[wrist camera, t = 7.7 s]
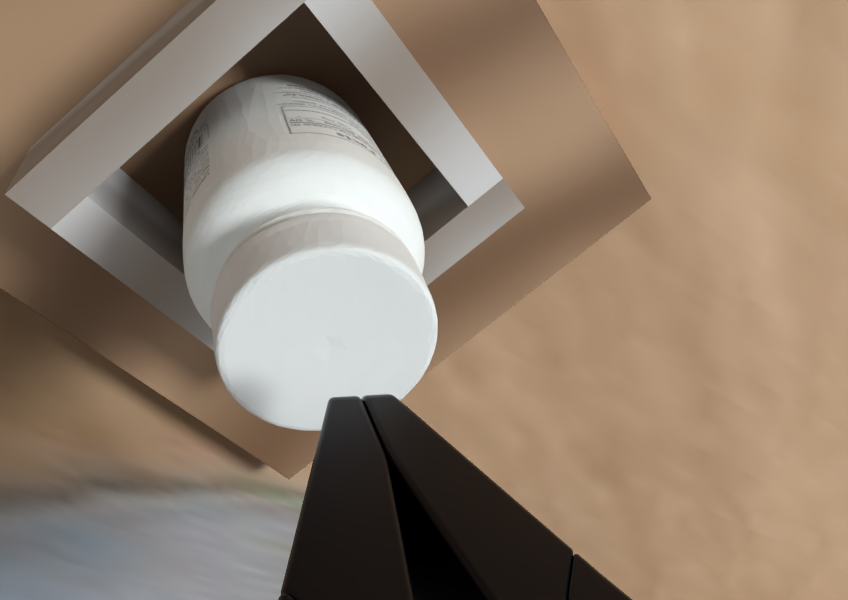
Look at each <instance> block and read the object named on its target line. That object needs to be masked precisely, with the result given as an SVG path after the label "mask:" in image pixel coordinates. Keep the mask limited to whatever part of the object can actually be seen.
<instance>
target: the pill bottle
mask: <svg viewBox="0 0 848 600" xmlns="http://www.w3.org/2000/svg"><path fill="white" fill-rule="evenodd" d="M424 258H425V245H424V237H423V231H422V227H421V224H420V221H419V218H418V215H417V213H416V210H415V208H414V206H413V204H412V203H411V201H410V199H409V197H408V195H407V193H406V192H405V190H404V188H403V187H402V185H401V184H400V182H399V180H398V179H397V178H396V176H395V174H394V173H393V171H392V169H391V167H390V166H389V164H388V163H387V161H386V159H385V158H384V156H383V155H382V153H381V152H380V150H379V148H378V147H377V145H376V144H375V142H374V140H373V139H372V137H371V135H370V134H369V132H368V130H367V129H366V127H365V126H364V124H363V123H362V121H361V120H360V119H359V117H358V116H357V114H356V113H355V112H354V110H353V109H352V108H351V107H350V106H349V105H348V104H347V103H346V102H345V101H344V100H343V99H342V98H341V97H339V96H338V95H337V94H335V93H334V92H333V91H331V90H330V89H328V88H326V87H325V86H323V85H321V84H319V83H316V82H314V81H311V80H308V79H305V78H301V77H297V76H292V75H284V74H278V75H266V76H259V77H255V78H251V79H248V80H245V81H242V82H240V83H237V84H236V85H234V86H232V87H230V88H228V89H226V90H225V91H223V92H222V93H220V94H219V95H217V96H216V97H215V98H214V99H213V100H212V101H211V102H210V103H209V104H208V105H207V106H206V107H205V108H204V109H203V111H202V112H201V114H200V115H199V117H198V118H197V120H196V122H195V124H194V125H193V127H192V130H191V132H190V135H189V138H188V141H187V145H186V151H185V160H184V214H183V264H184V275H185V279H186V283H187V287H188V290H189V294H190V296H191V299H192V301H193V303H194V305H195V307H196V309H197V310H198V312H199V313H200V315H201V317H202V318H203V319H204V321H205V322H206V323H207V324H208V326H209V327H210V328H211V329H212V334H213V346H214V355H215V360H216V364H217V368H218V371H219V374H220V376H221V379H222V381H223V383H224V385H225V387H226V389H227V390H228V391H229V392H230V394H231V395H232V396H233V398H234V399H235V400H236V401H237V402H238V403H239V404H240V405H241V406H242V407H244V408H245V409H246V410H247V411H249V412H250V413H252V414H253V415H255V416H257V417H259V418H260V419H262V420H264V421H266V422H269V423H271V424H274V425H276V426H280V427H285V428H289V429H296V430H303V431H321V428H322V424H323V420H324V416H325V412H326V408H327V404H328V401H329V399H330V398H332V397H343V396H358V397H359V398H362V397H364V396H366V395H379V394H391V395H393V396H395V397H396V398H397V399H399V400H401V399H402V398H403V397H404V396H405V395H406V394H407V393H408V392H409V391H410V390H411V389H412V388H413V387H414V386H415V385H416V384H417V383H418V382H419V380H420V379H421V377H422V376H423V374H424V373H425V371H426V369H427V367H428V366H429V363H430V361H431V359H432V356H433V354H434V350H435V346H436V342H437V331H438V319H437V314H436V309H435V305H434V302H433V299H432V296H431V294H430V291H429V289H428V287H427V285H426V282H425V280H424V278H423V276H422V273H423V268H424Z"/></svg>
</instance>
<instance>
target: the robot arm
mask: <svg viewBox="0 0 848 600" xmlns="http://www.w3.org/2000/svg"><path fill="white" fill-rule="evenodd" d="M279 600H632V599H631V598H630V597H628V596H627V595H626V594H625V593H624V592H622V591H621V590H620V589H619V588H617V587H616V586H615V585H614V584H613V583H611V582H610V581H609V580H608V579H607V578H605V577H604V576H603V575H602V574H600V573H599V572H598V571H597V570H596V569H595V568H593V567H592V566H591V565H590V564H589V563H588V562H587V561H585V560H584V559H583V558H582V557H581V556H580V555H578V554H575V555H573V550H572V549H571V548H570V547H569V546H568V545H567V544H565V543H564V542H563V541H562V540H561V539H560V538H558V537H557V536H556V535H555V534H554V533H553V532H551V531H550V530H549V529H548V528H547V527H546V526H545V525H543V524H542V523H541V522H540V521H539V520H538V519H536V518H535V517H534V516H533V515H532V514H531V513H529V512H528V511H527V510H526V509H525V508H524V507H523V506H521V505H520V504H519V503H518V502H517V501H516V500H514V499H513V498H512V497H511V496H510V495H509V494H507V493H506V492H505V491H504V490H503V489H502V488H501V487H499V486H498V485H497V484H496V483H495V482H494V481H492V480H491V479H490V478H489V477H488V476H487V475H485V474H484V473H483V472H482V471H481V470H480V469H479V468H477V467H476V466H475V465H474V464H473V463H472V462H470V461H469V460H468V459H467V458H466V457H465V456H463V455H462V454H461V453H460V452H459V451H458V450H456V449H455V448H454V447H453V446H452V445H451V444H450V443H448V442H447V441H446V440H445V439H444V438H443V437H441V436H440V435H439V434H438V433H437V432H436V431H434V430H433V429H432V428H431V427H430V426H429V425H428V424H426V423H425V422H424V421H423V420H422V419H421V418H419V417H418V416H417V415H416V414H415V413H414V412H412V411H411V410H410V409H409V408H408V407H407V406H406V405H404V404H403V403H402V402H401V401H400V400H399V399H397V398H396V397H395V396H393V395H391V394H379V395H366V396H364V397H362V398H359V397H358V396H343V397H332V398H330V399H329V401H328V404H327V408H326V412H325V416H324V420H323V424H322V428H321V432H320V436H319V440H318V444H317V448H316V452H315V456H314V460H313V464H312V468H311V472H310V476H309V480H308V484H307V488H306V492H305V497H304V501H303V505H302V509H301V513H300V517H299V521H298V525H297V529H296V533H295V537H294V541H293V545H292V549H291V553H290V557H289V561H288V565H287V569H286V573H285V577H284V581H283V585H282V589H281V596H280V597H279Z"/></svg>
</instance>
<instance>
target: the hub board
mask: <svg viewBox="0 0 848 600" xmlns="http://www.w3.org/2000/svg"><path fill="white" fill-rule="evenodd" d="M278 74H284V75H292V76H297V77H301V78H305V79H308V80H311V81H314V82H316V83H319V84H321V85H323V86H325V87H326V88H328V89H330V90H331V91H333V92H334V93H335V94H337V95H338V96H339V97H341V98H342V99H343V100H344V101H345V102H346V103H347V104H348V105H349V106H350V107H351V108H352V109H353V110H354V112H355V113H356V114H357V116H358V117H359V119H360V120H361V121H362V123H363V124H364V126H365V127H366V129H367V130H368V132H369V134H370V135H371V137H372V139H373V140H374V142H375V144H376V145H377V147H378V148H379V150H380V152H381V153H382V155H383V156H384V158H385V159H386V161H387V163H388V164H389V166H390V167H391V169H392V171H393V173H394V174H395V176H396V178H397V179H398V180H399V182H400V184H401V185H402V187H403V188H404V190H405V192H406V193H407V195H408V197H409V199H410V201H411V203H412V204H413V206H414V208H415V210H416V213H417V215H418V218H419V221H420V224H421V227H422V231H423V237H424V245H425V258H424V268H423V273H422V276H423V278H424V280H425V282H426V285H427V287H428V289H429V291H430V294H431V296H432V299H433V302H434V305H435V309H436V314H437V319H438V331H437V342H436V346H435V350H434V354H433V356H432V359H431V361H430V363H429V366H428V367H427V369H426V371H425V373H424V374H426V373H427V372H428V371H429V370H431V369H432V368H433V367H435V366H436V365H437V364H439V363H440V362H441V361H442V360H444V359H445V358H446V357H448V356H449V355H450V354H451V353H453V352H454V351H455V350H457V349H458V348H459V347H460V346H462V345H463V344H464V343H466V342H467V341H468V340H470V339H471V338H472V337H473V336H475V335H476V334H477V333H479V332H480V331H481V330H482V329H484V328H485V327H486V326H488V325H489V324H490V323H492V322H493V321H494V320H495V319H497V318H498V317H499V316H501V315H502V314H503V313H504V312H506V311H507V310H508V309H510V308H511V307H512V306H513V305H515V304H516V303H517V302H519V301H520V300H521V299H523V298H524V297H525V296H526V295H528V294H529V293H530V292H532V291H533V290H534V289H535V288H537V287H538V286H539V285H541V284H542V283H543V282H545V281H546V280H547V279H548V278H550V277H551V276H552V275H554V274H555V273H556V272H557V271H559V270H560V269H561V268H563V267H564V266H565V265H566V264H568V263H569V262H570V261H572V260H573V259H574V258H576V257H577V256H578V255H579V254H581V253H582V252H583V251H585V250H586V249H587V248H588V247H590V246H591V245H592V244H594V243H595V242H596V241H598V240H599V239H600V238H601V237H603V236H604V235H605V234H607V233H608V232H609V231H610V230H612V229H613V228H614V227H616V226H617V225H618V224H619V223H621V222H622V221H623V220H625V219H626V218H627V217H629V216H630V215H631V214H632V213H634V212H635V211H636V210H638V209H639V208H640V207H641V206H643V205H644V204H645V203H647V202H648V201H649V200H651V198H650V196H649V194H648V192H647V191H646V189H645V187H644V185H643V184H642V182H641V180H640V179H639V177H638V175H637V173H636V172H635V170H634V168H633V167H632V165H631V163H630V161H629V160H628V158H627V156H626V154H625V153H624V151H623V149H622V148H621V146H620V144H619V142H618V141H617V139H616V137H615V136H614V134H613V132H612V130H611V129H610V127H609V125H608V123H607V122H606V120H605V118H604V117H603V115H602V113H601V111H600V110H599V108H598V106H597V105H596V103H595V101H594V99H593V98H592V96H591V94H590V92H589V91H588V89H587V87H586V86H585V84H584V82H583V80H582V79H581V77H580V75H579V74H578V72H577V70H576V68H575V67H574V65H573V63H572V61H571V60H570V58H569V56H568V55H567V53H566V51H565V49H564V48H563V46H562V44H561V43H560V41H559V39H558V37H557V36H556V34H555V32H554V30H553V29H552V27H551V25H550V24H549V22H548V20H547V18H546V17H545V15H544V13H543V12H542V10H541V8H540V6H539V5H538V3H537V1H536V0H0V288H1V289H2V290H4V291H5V292H7V293H8V294H10V295H12V296H13V297H15V298H16V299H18V300H19V301H21V302H22V303H24V304H25V305H27V306H28V307H30V308H31V309H33V310H34V311H36V312H37V313H39V314H40V315H42V316H43V317H45V318H46V319H48V320H49V321H51V322H52V323H54V324H55V325H57V326H58V327H60V328H61V329H63V330H64V331H66V332H67V333H69V334H70V335H72V336H73V337H75V338H76V339H78V340H79V341H81V342H82V343H84V344H85V345H87V346H88V347H90V348H91V349H93V350H95V351H96V352H98V353H99V354H101V355H102V356H104V357H105V358H107V359H108V360H110V361H111V362H113V363H114V364H116V365H117V366H119V367H120V368H122V369H123V370H125V371H126V372H128V373H129V374H131V375H132V376H134V377H135V378H137V379H138V380H140V381H141V382H143V383H144V384H146V385H147V386H149V387H150V388H152V389H153V390H155V391H156V392H158V393H159V394H161V395H162V396H164V397H165V398H167V399H168V400H170V401H171V402H173V403H174V404H176V405H178V406H179V407H181V408H182V409H184V410H185V411H187V412H188V413H190V414H191V415H193V416H194V417H196V418H197V419H199V420H200V421H202V422H203V423H205V424H206V425H208V426H209V427H211V428H212V429H214V430H215V431H217V432H218V433H220V434H221V435H223V436H224V437H226V438H227V439H229V440H230V441H232V442H233V443H235V444H236V445H238V446H239V447H241V448H242V449H244V450H245V451H247V452H248V453H250V454H251V455H253V456H254V457H256V458H257V459H259V460H261V461H262V462H264V463H265V464H267V465H268V466H270V467H271V468H273V469H274V470H276V471H277V472H279V473H280V474H282V475H283V476H285V477H286V478H288V479H290V478H291V477H292V476H294V475H295V474H296V473H298V472H299V471H300V470H301V469H303V468H304V467H305V466H307V465H308V464H309V463H311V462H312V461H313V460H314V456H315V452H316V448H317V444H318V440H319V436H320V432H321V431H303V430H296V429H289V428H285V427H280V426H276V425H274V424H271V423H269V422H266V421H264V420H262V419H260V418H259V417H257V416H255V415H253V414H252V413H250V412H249V411H247V410H246V409H245V408H244V407H242V406H241V405H240V404H239V403H238V402H237V401H236V400H235V399H234V398H233V396H232V395H231V394H230V392H229V391H228V390H227V389H226V387H225V385H224V383H223V381H222V379H221V376H220V374H219V371H218V368H217V364H216V360H215V355H214V346H213V334H212V329H211V328H210V327H209V326H208V324H207V323H206V322H205V321H204V319H203V318H202V317H201V315H200V313H199V312H198V310H197V309H196V307H195V305H194V303H193V301H192V299H191V296H190V294H189V290H188V287H187V283H186V279H185V275H184V264H183V214H184V160H185V151H186V145H187V141H188V138H189V135H190V132H191V130H192V127H193V125H194V124H195V122H196V120H197V118H198V117H199V115H200V114H201V112H202V111H203V109H204V108H205V107H206V106H207V105H208V104H209V103H210V102H211V101H212V100H213V99H214V98H215V97H216V96H217V95H219V94H220V93H222V92H223V91H225V90H226V89H228V88H230V87H232V86H234V85H236V84H237V83H240V82H242V81H245V80H248V79H251V78H255V77H259V76H266V75H278ZM424 374H423V375H424Z"/></svg>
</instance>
